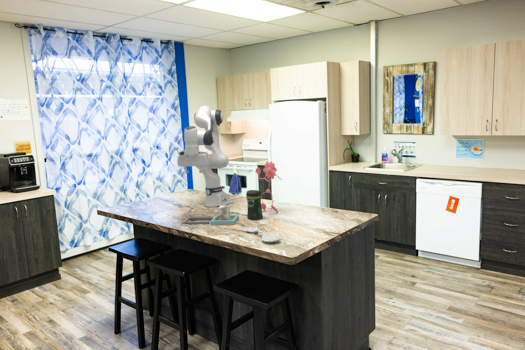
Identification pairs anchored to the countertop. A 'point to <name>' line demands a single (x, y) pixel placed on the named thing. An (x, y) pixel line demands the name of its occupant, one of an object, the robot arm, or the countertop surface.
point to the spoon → (265, 236)
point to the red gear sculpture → (269, 173)
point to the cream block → (224, 213)
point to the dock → (224, 222)
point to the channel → (197, 219)
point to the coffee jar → (254, 204)
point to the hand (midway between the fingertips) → (193, 172)
